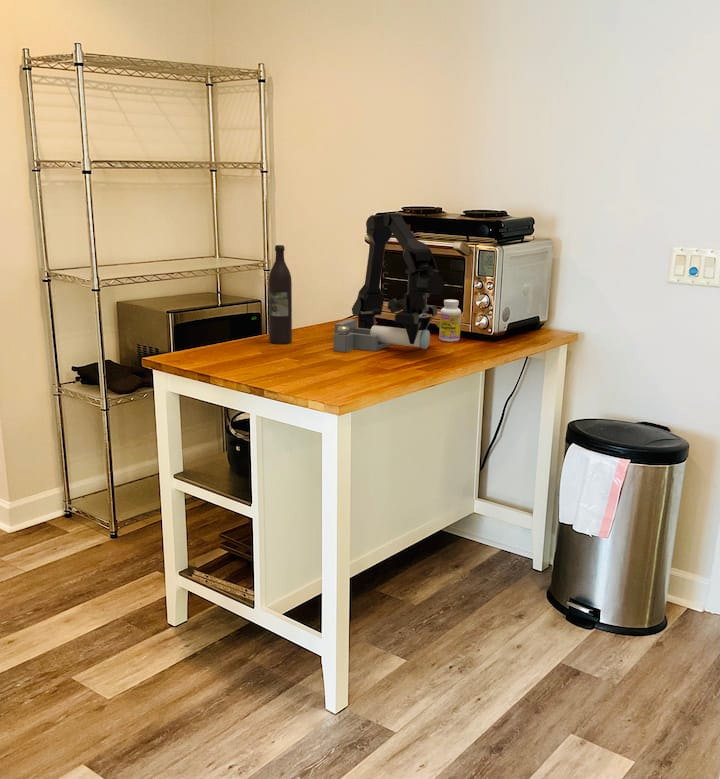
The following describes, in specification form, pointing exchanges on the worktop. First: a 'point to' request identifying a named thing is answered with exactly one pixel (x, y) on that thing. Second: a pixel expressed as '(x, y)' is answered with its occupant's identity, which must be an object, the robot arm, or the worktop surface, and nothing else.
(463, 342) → the worktop surface
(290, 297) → the wine bottle
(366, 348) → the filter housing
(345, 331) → the release plunger
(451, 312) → the supplement bottle
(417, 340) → the cylinder
